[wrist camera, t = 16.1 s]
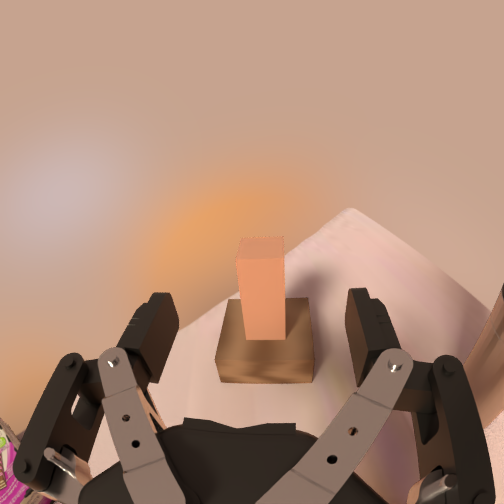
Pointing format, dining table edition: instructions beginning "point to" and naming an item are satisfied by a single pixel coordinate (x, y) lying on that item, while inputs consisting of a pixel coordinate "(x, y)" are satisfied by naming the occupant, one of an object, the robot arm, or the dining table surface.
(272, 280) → the terracotta block
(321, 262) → the dining table surface
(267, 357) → the walnut block
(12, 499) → the candy bar box
